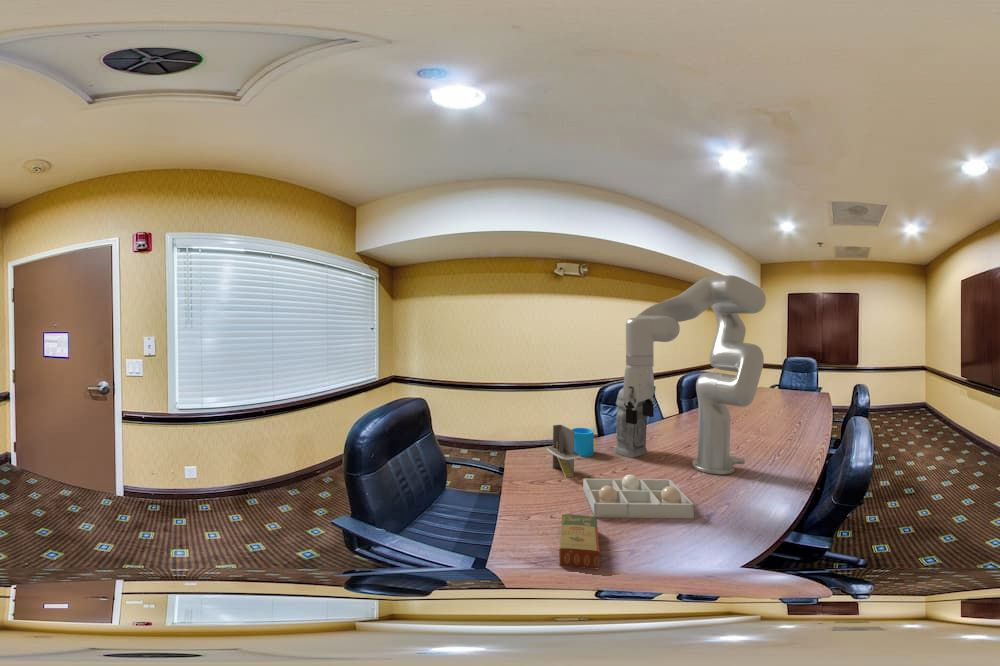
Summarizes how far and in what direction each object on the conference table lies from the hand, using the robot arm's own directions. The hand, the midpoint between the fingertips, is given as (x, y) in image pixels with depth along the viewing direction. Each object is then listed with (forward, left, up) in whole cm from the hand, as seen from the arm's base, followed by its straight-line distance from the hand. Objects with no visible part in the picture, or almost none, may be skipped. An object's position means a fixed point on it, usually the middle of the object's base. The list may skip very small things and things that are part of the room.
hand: (640, 419), depth 131 cm
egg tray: (+4, +10, -20) cm, 23 cm away
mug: (+12, -32, -21) cm, 40 cm away
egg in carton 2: (-4, +14, -20) cm, 25 cm away
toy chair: (+21, -13, -21) cm, 32 cm away
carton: (+22, +32, -21) cm, 45 cm away
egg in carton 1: (+12, +14, -20) cm, 27 cm away
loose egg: (+4, +6, -20) cm, 21 cm away
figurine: (-7, -34, -21) cm, 40 cm away
